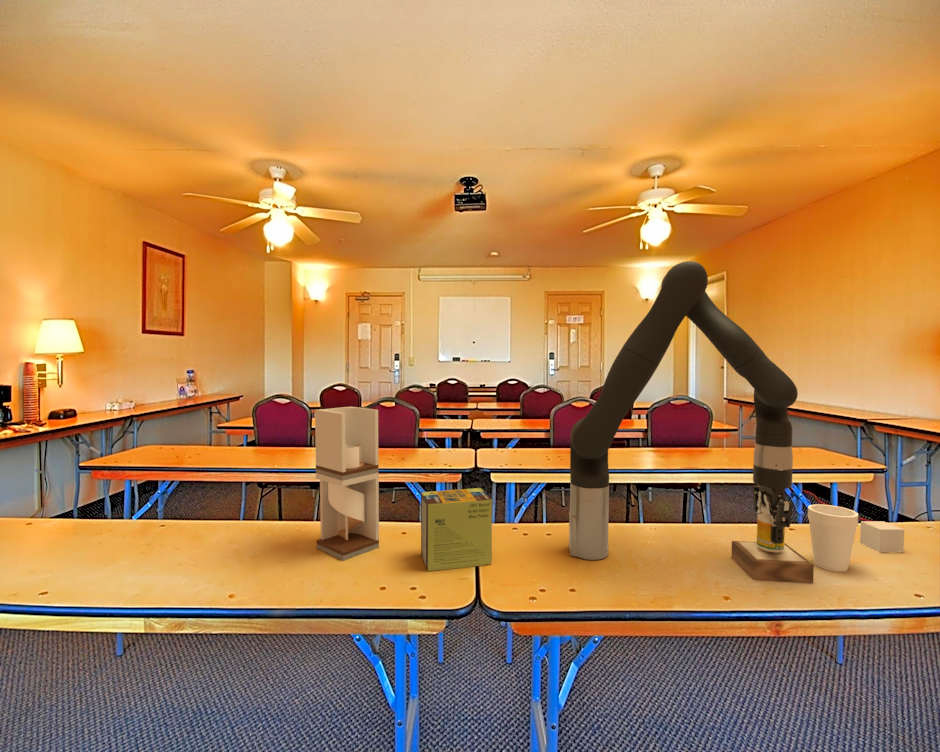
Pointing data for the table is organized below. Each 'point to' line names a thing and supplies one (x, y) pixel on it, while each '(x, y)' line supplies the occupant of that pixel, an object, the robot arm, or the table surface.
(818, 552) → the foam cup
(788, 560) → the base slab
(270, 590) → the table surface
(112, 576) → the table surface
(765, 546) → the supplement bottle
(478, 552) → the protein box
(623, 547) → the table surface
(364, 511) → the beige cubby shelf tower
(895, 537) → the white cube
